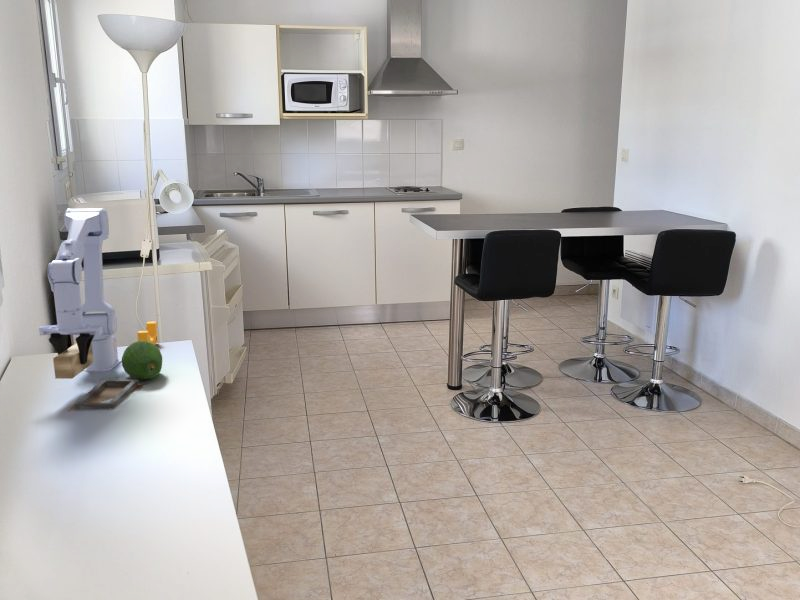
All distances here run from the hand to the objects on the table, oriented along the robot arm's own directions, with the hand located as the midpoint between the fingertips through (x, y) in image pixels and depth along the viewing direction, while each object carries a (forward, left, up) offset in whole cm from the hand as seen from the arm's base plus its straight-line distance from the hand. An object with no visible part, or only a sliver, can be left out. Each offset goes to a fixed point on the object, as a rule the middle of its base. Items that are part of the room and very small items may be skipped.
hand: (74, 363), depth 176 cm
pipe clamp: (-40, +3, -9) cm, 41 cm away
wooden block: (0, 0, -2) cm, 2 cm away
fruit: (-12, +12, -9) cm, 19 cm away
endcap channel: (+3, +9, -8) cm, 12 cm away
